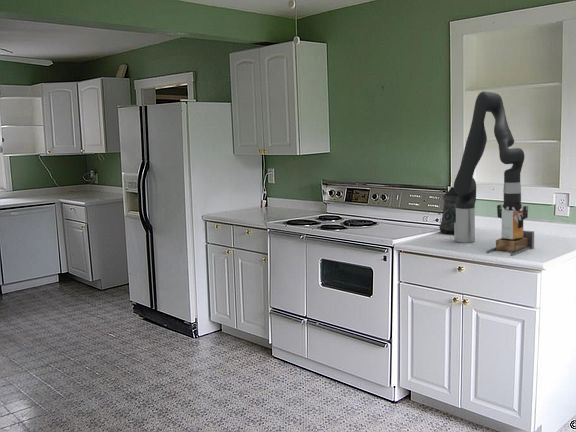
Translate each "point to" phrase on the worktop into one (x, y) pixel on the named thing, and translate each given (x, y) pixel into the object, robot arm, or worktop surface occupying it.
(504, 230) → the small box
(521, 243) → the socket block
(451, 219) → the beer stein
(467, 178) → the robot arm
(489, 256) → the worktop surface
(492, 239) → the worktop surface
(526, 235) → the backstop track
